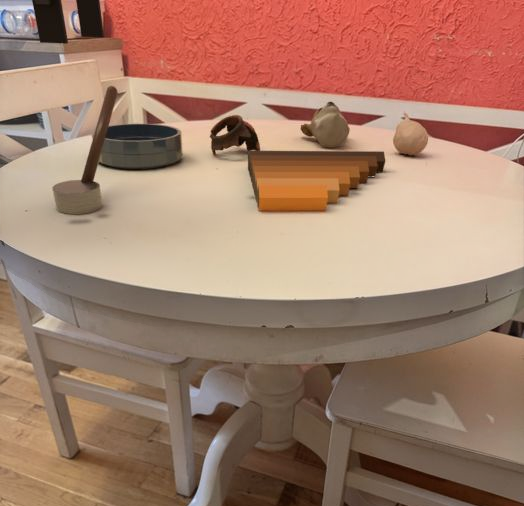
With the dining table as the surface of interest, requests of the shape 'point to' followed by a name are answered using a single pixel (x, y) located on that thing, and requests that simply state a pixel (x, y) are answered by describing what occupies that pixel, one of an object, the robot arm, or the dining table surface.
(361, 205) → the dining table surface
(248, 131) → the brown hollow curved piece
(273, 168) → the pan flute
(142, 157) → the bowl
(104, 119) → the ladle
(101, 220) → the dining table surface
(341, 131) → the ceramic sculpture
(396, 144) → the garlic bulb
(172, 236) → the dining table surface
